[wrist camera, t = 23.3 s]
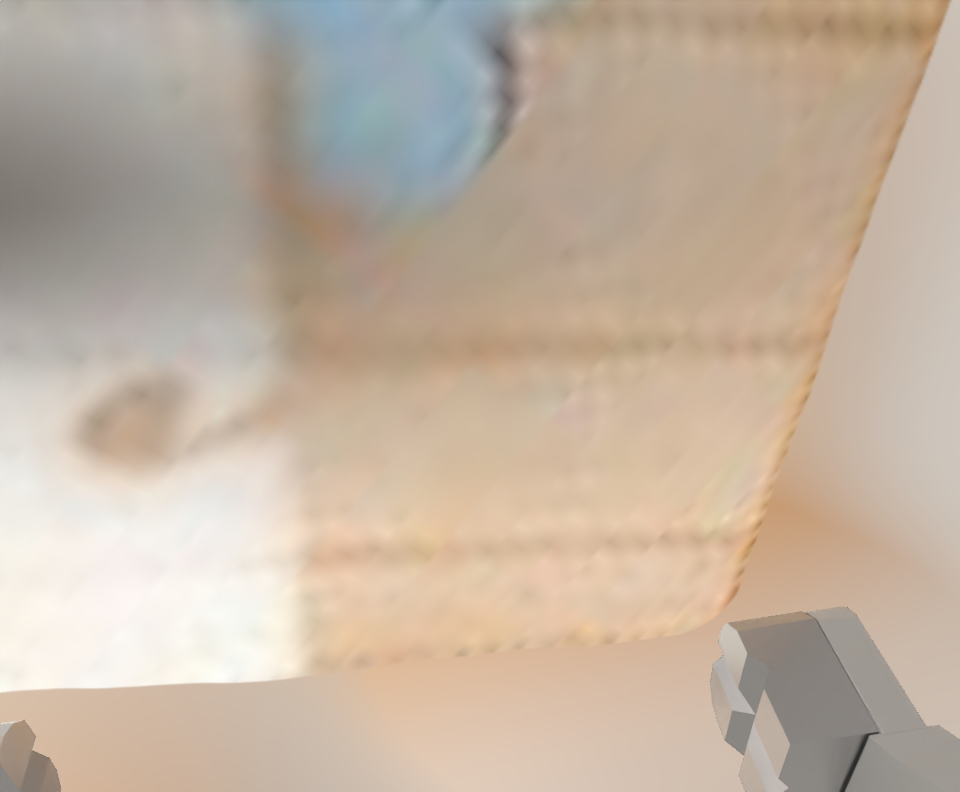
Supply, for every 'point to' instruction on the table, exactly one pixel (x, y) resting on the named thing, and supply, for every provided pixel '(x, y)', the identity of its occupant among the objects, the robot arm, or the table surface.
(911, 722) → the robot arm
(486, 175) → the table surface
